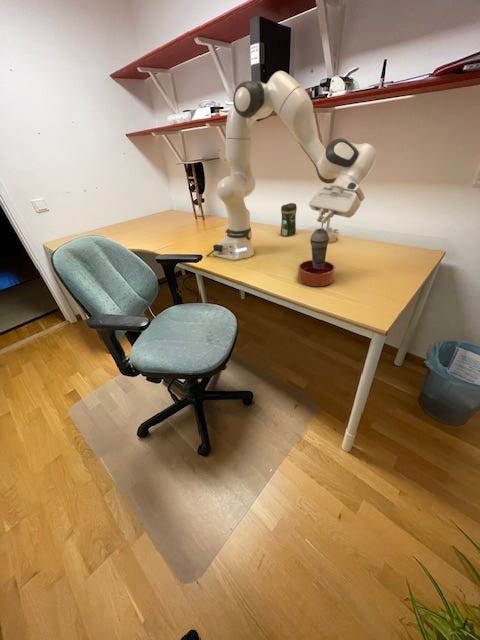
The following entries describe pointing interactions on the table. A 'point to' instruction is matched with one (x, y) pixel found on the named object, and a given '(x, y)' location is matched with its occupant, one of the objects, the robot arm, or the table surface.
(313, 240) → the beverage cup
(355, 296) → the table surface
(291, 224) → the coffee jar
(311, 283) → the bowl
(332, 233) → the flag stand
